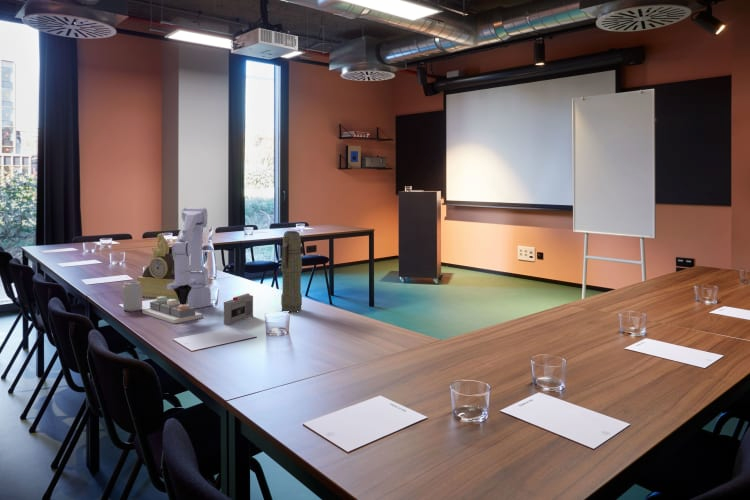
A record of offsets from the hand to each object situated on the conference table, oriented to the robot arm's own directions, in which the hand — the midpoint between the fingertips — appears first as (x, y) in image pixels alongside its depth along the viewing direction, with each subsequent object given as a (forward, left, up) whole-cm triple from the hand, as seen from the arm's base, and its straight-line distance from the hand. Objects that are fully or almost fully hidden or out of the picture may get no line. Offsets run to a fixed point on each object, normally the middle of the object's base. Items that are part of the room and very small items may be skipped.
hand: (182, 304), depth 221 cm
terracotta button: (0, 0, -4) cm, 4 cm away
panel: (0, -8, -6) cm, 10 cm away
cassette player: (-14, +18, -6) cm, 24 cm away
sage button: (0, -16, -3) cm, 16 cm away
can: (+6, -29, -6) cm, 30 cm away
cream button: (0, -8, -3) cm, 8 cm away
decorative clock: (-18, -48, -7) cm, 51 cm away
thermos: (-40, +21, -6) cm, 46 cm away
